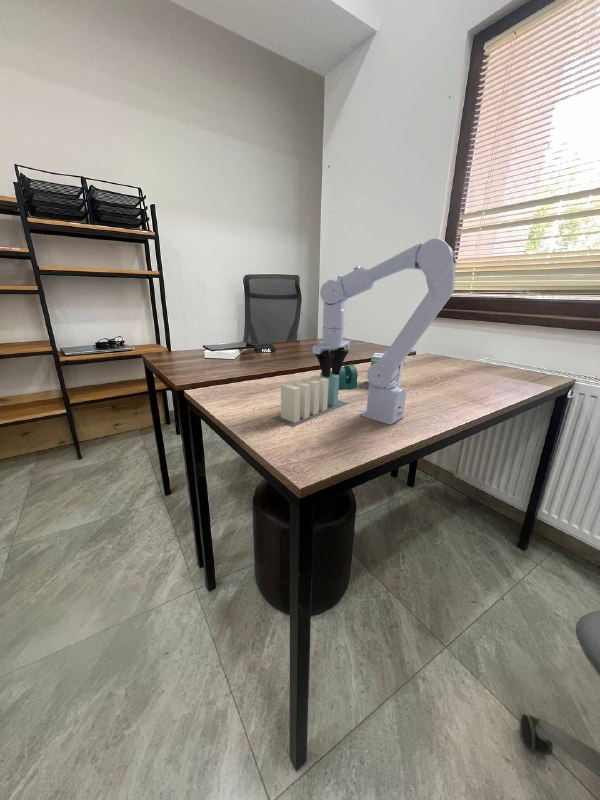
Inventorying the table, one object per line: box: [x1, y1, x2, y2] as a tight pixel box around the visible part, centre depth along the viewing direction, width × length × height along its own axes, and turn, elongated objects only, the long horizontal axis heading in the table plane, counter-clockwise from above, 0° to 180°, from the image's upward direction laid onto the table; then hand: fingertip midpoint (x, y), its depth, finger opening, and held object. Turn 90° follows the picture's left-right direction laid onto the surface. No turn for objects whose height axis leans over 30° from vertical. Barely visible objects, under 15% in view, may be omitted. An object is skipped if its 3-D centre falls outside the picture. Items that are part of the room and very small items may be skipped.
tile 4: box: [290, 380, 310, 419], centre depth 82 cm, size 5×2×9 cm, turn 46°
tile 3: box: [300, 377, 320, 415], centre depth 85 cm, size 5×2×9 cm, turn 46°
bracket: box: [319, 364, 359, 391], centre depth 113 cm, size 18×7×8 cm, turn 22°
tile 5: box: [280, 383, 300, 423], centre depth 79 cm, size 5×2×9 cm, turn 46°
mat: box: [271, 399, 349, 428], centre depth 87 cm, size 8×24×1 cm, turn 136°
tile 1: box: [322, 374, 339, 407], centre depth 91 cm, size 5×2×9 cm, turn 46°
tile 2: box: [309, 375, 329, 411], centre depth 87 cm, size 5×2×9 cm, turn 46°
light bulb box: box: [370, 352, 404, 388], centre depth 111 cm, size 11×7×11 cm, turn 67°
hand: (330, 375), depth 89 cm, fingers open, 4 cm apart
